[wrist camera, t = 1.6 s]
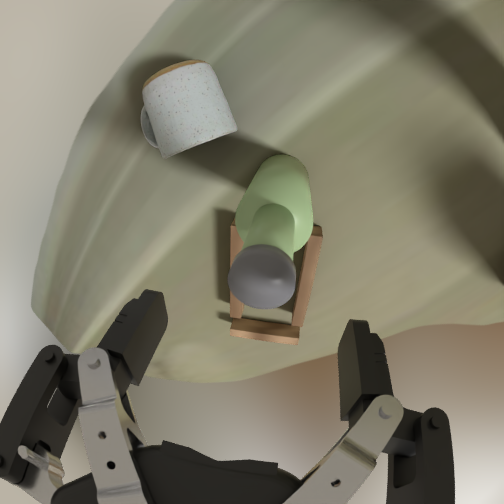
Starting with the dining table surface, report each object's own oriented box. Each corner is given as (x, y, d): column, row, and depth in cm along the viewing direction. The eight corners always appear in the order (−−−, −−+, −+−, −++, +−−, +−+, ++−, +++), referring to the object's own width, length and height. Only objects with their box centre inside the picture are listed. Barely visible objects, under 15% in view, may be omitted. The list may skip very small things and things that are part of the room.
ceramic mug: (218, 60, 23) (189, 49, 16) (245, 127, 26) (226, 137, 20) (137, 102, 26) (95, 108, 20) (163, 161, 30) (127, 182, 23)
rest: (321, 226, 31) (322, 237, 29) (298, 332, 40) (297, 344, 38) (235, 216, 32) (230, 225, 30) (233, 323, 41) (230, 335, 39)
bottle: (311, 157, 27) (328, 242, 12) (305, 206, 30) (306, 328, 15) (258, 152, 28) (204, 227, 12) (255, 200, 30) (209, 314, 15)
